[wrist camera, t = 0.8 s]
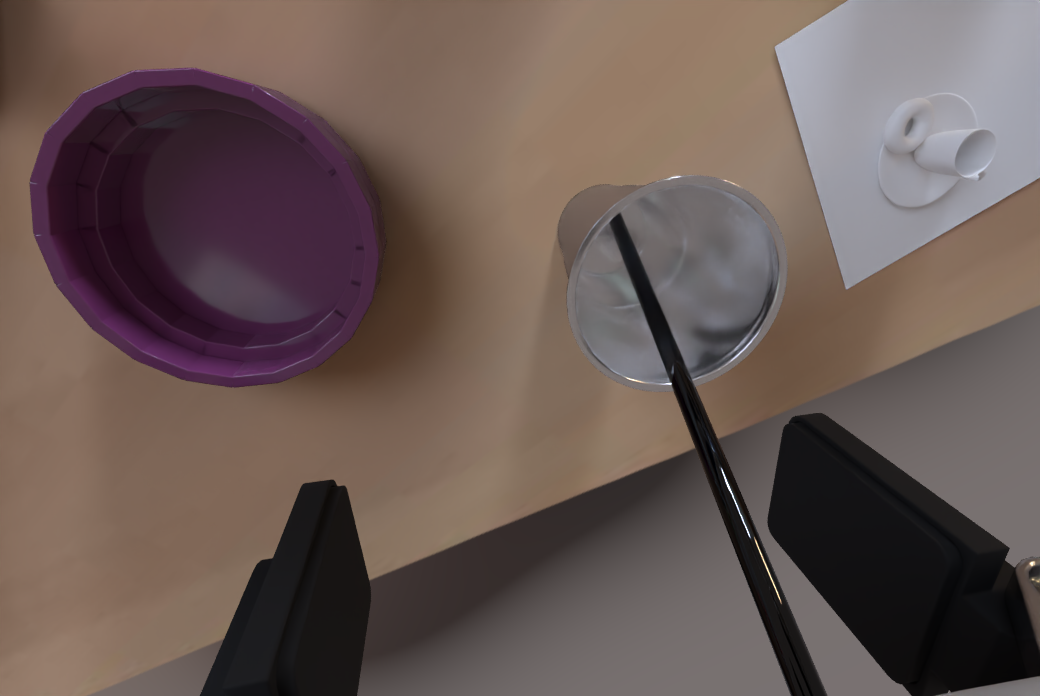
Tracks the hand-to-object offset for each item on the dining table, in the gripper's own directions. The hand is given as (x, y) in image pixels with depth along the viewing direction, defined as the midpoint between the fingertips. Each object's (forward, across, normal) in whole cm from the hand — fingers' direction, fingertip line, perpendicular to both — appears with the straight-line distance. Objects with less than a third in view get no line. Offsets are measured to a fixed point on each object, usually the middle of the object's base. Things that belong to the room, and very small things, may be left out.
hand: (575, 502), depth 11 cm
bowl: (+28, +15, -2) cm, 32 cm away
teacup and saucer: (+28, -34, -7) cm, 45 cm away
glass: (+28, -9, 0) cm, 29 cm away
